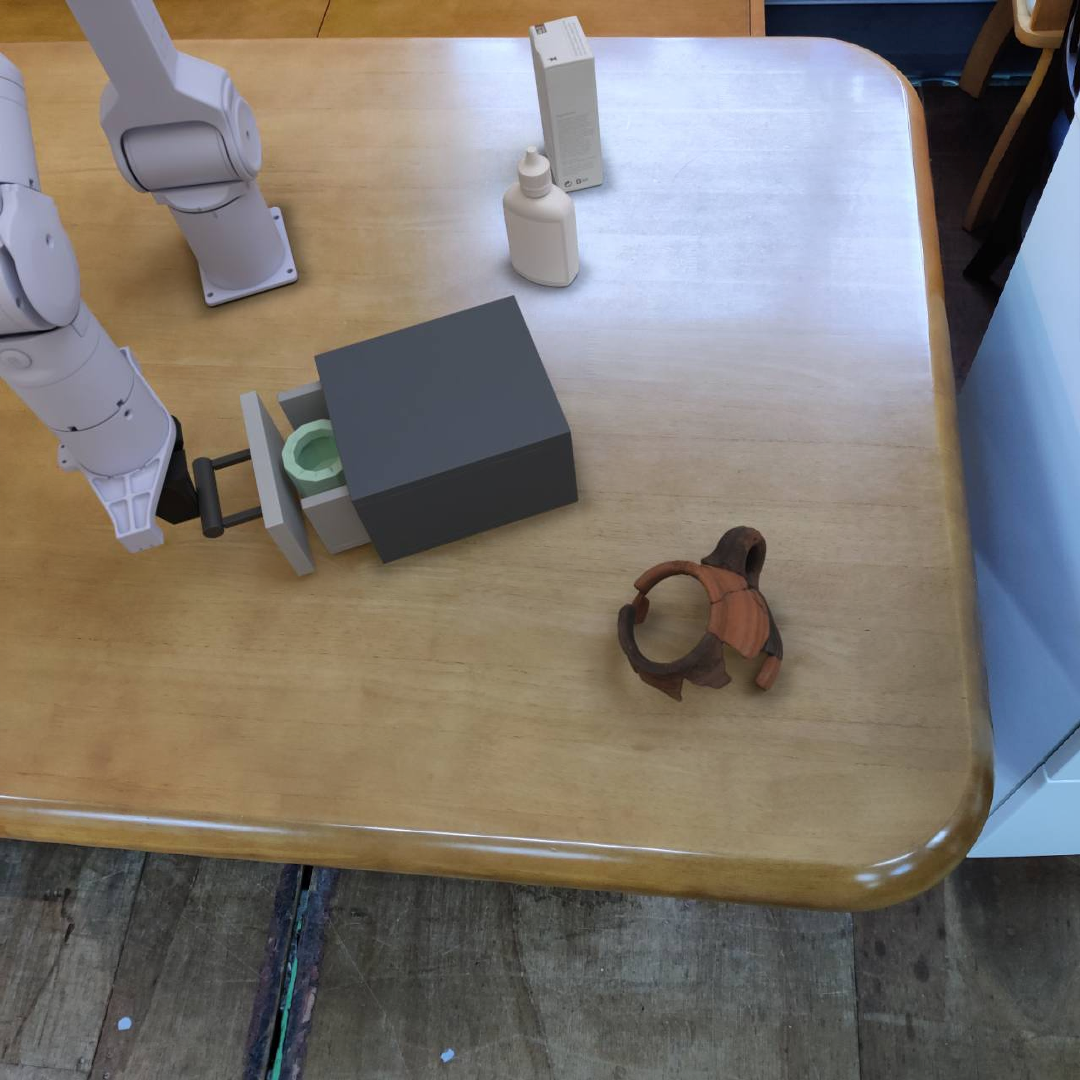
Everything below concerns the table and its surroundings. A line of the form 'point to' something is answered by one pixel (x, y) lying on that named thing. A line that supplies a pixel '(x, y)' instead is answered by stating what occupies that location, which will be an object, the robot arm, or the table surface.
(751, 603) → the pottery mug
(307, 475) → the jar
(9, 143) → the robot arm
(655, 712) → the table surface
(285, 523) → the drawer
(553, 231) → the eye dropper bottle
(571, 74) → the cosmetic box
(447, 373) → the cabinet
